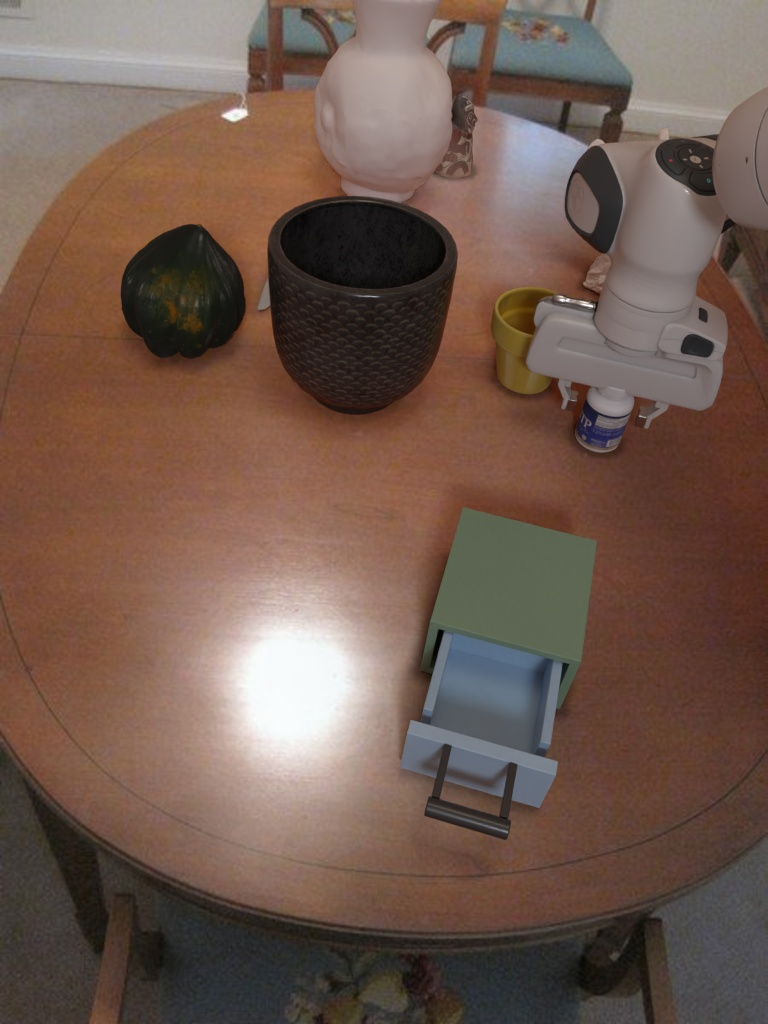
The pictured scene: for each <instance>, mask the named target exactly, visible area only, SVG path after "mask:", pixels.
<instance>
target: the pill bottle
mask: <svg viewBox="0 0 768 1024" xmlns="http://www.w3.org/2000/svg"><path fill="white" fill-rule="evenodd" d="M634 406H635V396H632V395H628V394H626V393H625V390H622V389H618V388H614V387H607V388H606V389H601V388H597V387H593V386H589V389H588V390H587V393H586V395H585V398H584V402H583V404H582V407H581V411H580V413H579V417H578V420H577V423H576V426H575V430H574V436H575V439H576V441H577V442H578V444H579V445H581V446H582V447H583V448H584V449H586V450H587V451H590V452H594V453H600V454H601V453H605V454H606V453H609V452H613V451H614V450H616V449H617V448H618V446H619V445H620V444H621V441H622V438H623V435H624V433H625V429H626V428H627V425H628V422H629V420H630V417H631V415H632V412H633V409H634Z"/></svg>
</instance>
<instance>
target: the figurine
mask: <svg viewBox="0 0 768 1024" xmlns="http://www.w3.org/2000/svg"><path fill="white" fill-rule="evenodd" d="M452 103H453V105H452V110H451V111H452V119H451V122H452V136H451V141H450V144H449V148H448V150H447V152H446V154H445V155H444V157H443V160H442V162H441V163H440V164H439V165H438V167H437V168H436V170H435V171H434V172H433V173H435V174H437V175H438V176H440V177H444V178H448V179H452V178H453V179H458V178H466V177H469V176H470V175H471V174H472V173H473V162H474V155H473V154H474V153H473V143H474V141H473V140H474V139H473V132H474V130H475V127H476V123H477V122H478V120H479V119H478V117H477V115H476V114H475V106H474V104H473V101H472V100H471V98H470V97H469V96H468V95H467V94H466V93H465V92H460V93H458V94H457V95H456V96H455V97H454V95H453V94H452Z"/></svg>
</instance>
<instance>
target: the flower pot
mask: <svg viewBox="0 0 768 1024" xmlns="http://www.w3.org/2000/svg"><path fill="white" fill-rule="evenodd" d="M555 293H559V294H561V292H557V291H556V290H552V289H549V288H545V287H538V286H521V287H515V288H511V289H508V290H506V291H504V292H503V293H501V294H500V295H499V296H498V297H497V299H496V300H495V302H494V305H493V309H492V314H491V321H490V334H491V337H492V339H493V340H494V343H495V362H496V363H495V365H496V377H497V380H498V381H499V383H500V384H501V385H502V386H503V387H505V388H506V389H507V390H510V391H511V392H515V393H518V394H522V395H534V394H535V395H536V394H539V393H541V392H544V391H545V390H546V389H547V388H548V387H550V385H551V383H552V382H553V380H554V377H549V376H545V375H541V374H536V373H532V372H530V371H529V369H528V367H527V365H526V364H525V360H526V356H527V352H528V349H529V345H530V342H531V339H532V336H533V333H534V331H535V329H536V326H535V324H534V322H533V315H534V311H535V307H536V304H537V303H538V301H539V300H540V299H542V298H544V297H547V296H554V294H555ZM550 301H552V300H550Z"/></svg>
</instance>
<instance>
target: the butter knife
mask: <svg viewBox="0 0 768 1024" xmlns="http://www.w3.org/2000/svg"><path fill="white" fill-rule="evenodd" d="M263 286H264V287H263V289H262V292H261V295H260V298H259V300H258V304H257V308H256V310H261V311H262V310H266V309H267V308H269V307H270V295H269V283H268V277H267V278H266V281H265V284H264V285H263Z"/></svg>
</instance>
